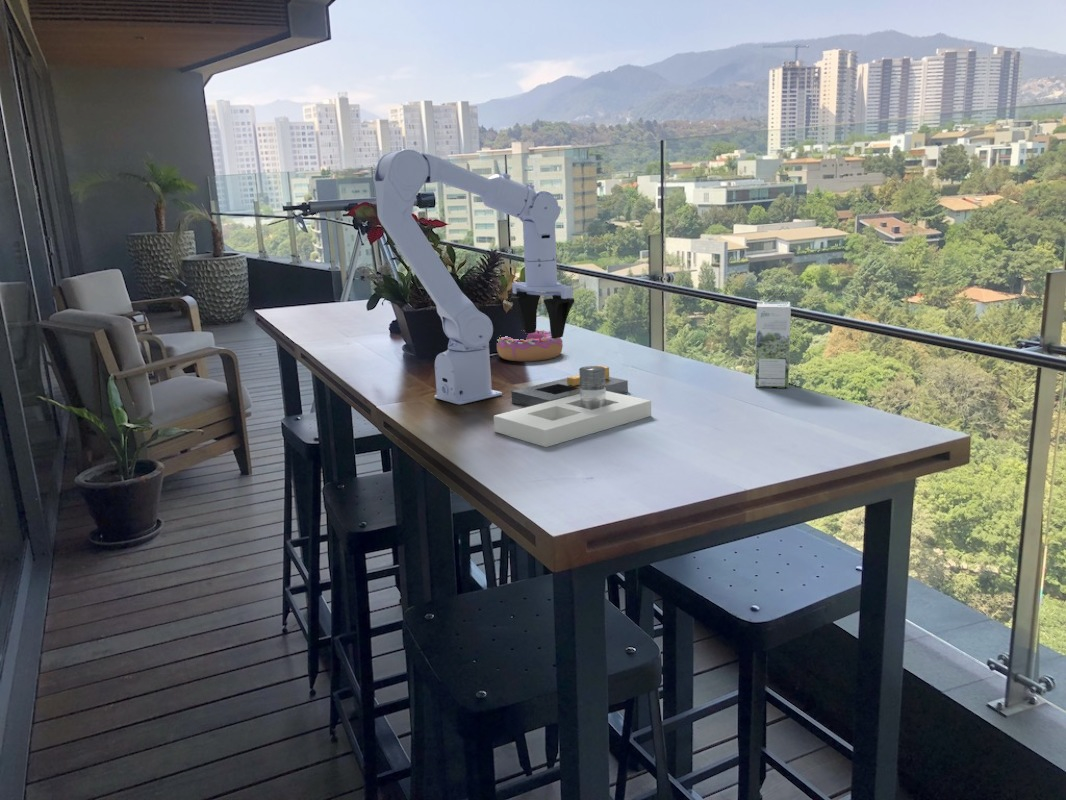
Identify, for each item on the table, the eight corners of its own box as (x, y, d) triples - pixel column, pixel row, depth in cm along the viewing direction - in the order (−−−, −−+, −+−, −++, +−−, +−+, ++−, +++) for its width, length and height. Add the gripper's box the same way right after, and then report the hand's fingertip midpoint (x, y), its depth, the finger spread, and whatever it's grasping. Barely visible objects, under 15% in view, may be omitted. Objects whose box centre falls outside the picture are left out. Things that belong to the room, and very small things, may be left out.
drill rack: (545, 447, 123) (545, 430, 123) (494, 431, 132) (493, 415, 132) (651, 415, 137) (651, 400, 136) (598, 403, 146) (597, 389, 145)
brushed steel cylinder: (594, 422, 134) (592, 372, 133) (575, 418, 137) (574, 369, 135) (611, 417, 137) (610, 368, 135) (592, 413, 140) (591, 364, 138)
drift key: (576, 386, 150) (576, 375, 149) (564, 383, 152) (564, 372, 151) (609, 378, 154) (609, 367, 154) (597, 375, 157) (597, 365, 156)
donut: (522, 348, 198) (521, 326, 197) (575, 353, 190) (574, 330, 189) (483, 360, 187) (482, 337, 185) (538, 366, 179) (537, 342, 177)
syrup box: (788, 381, 155) (790, 300, 152) (788, 389, 150) (791, 305, 146) (755, 380, 157) (757, 300, 153) (754, 388, 151) (756, 305, 148)
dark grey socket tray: (550, 412, 142) (549, 400, 141) (511, 402, 149) (511, 391, 149) (627, 391, 153) (627, 380, 153) (588, 383, 161) (588, 372, 160)
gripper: (584, 259, 152) (586, 336, 155) (531, 256, 163) (534, 328, 166) (554, 263, 148) (557, 342, 151) (501, 260, 158) (505, 333, 162)
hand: (543, 335), depth 158 cm, fingers open, 7 cm apart
